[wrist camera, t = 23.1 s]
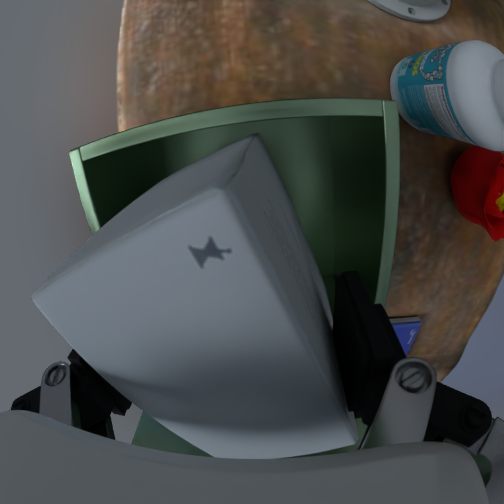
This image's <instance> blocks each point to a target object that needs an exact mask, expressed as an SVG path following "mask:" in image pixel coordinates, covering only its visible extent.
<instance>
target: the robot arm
mask: <svg viewBox="0 0 504 504" xmlns="http://www.w3.org/2000/svg"><path fill="white" fill-rule="evenodd" d="M368 1H369V2H371V3H372V4H374V5H375V6H377V7H379V8H380V9H382V10H384V11H386V12H388V13H390V14H392V15H395V16H397V17H400V18H403V19H406V20H410V21H415V22H431V21H434V20H437V19H439V18H441V17H443V16H444V15H445V14H446V13H447V12H448V10H449V8H450V1H451V0H368ZM332 333H333V337H334V342H335V347H336V352H337V357H338V362H339V367H340V372H341V377H342V383H343V388H344V393H345V398H346V403H347V408H348V411H349V412H352V411H353V412H354V418H355V419H357V418H361V419H362V423H363V424H365V425H367V428H366V430H365V432H364V434H363V437H362V439H361V441H360V443H359V445H358V447H357V449H356V451H351V452H344V453H337V454H330V455H321V456H311V457H299V458H283V459H232V458H216V457H204V456H195V455H187V454H179V453H173V452H167V451H161V450H156V449H150V448H146V447H141V446H137V445H132V444H128V443H124V442H120V441H116V440H115V436H114V431H113V426H112V421H111V417H110V414H111V412H113V413H114V414H118V415H123V416H125V413H126V410H127V409H129V408H130V406H131V404H132V402H131V401H130V400H128V399H127V398H126V397H125V396H123V395H122V394H121V393H120V392H119V391H117V390H116V389H115V388H114V387H113V386H112V385H111V384H109V383H108V382H107V381H106V380H105V379H104V378H103V377H102V376H101V375H100V374H99V373H97V372H96V371H95V370H94V369H93V368H92V367H91V366H90V365H89V364H88V363H87V362H86V361H85V360H84V359H83V358H82V357H81V356H80V355H79V354H78V353H77V352H76V351H75V350H74V349H73V350H72V351H71V353H70V354H69V356H68V359H69V361H70V362H71V364H70V366H69V365H68V364H67V363H65V362H62V361H60V362H55V363H53V364H52V365H50V366H49V367H48V368H47V369H46V370H45V372H44V374H43V376H42V382H41V386H39V387H37V388H35V389H34V390H32V391H30V392H28V393H26V394H24V395H22V396H20V397H19V398H17V399H16V400H15V401H14V402H13V404H12V407H11V411H10V410H9V411H5V412H2V413H0V504H504V420H502V419H501V418H499V417H497V418H496V419H494V418H492V415H491V411H490V409H489V407H488V406H487V405H486V404H485V403H484V402H483V401H481V400H479V399H476V398H474V397H472V396H469V395H467V394H465V393H462V392H460V391H458V390H455V389H453V388H451V387H448V386H446V385H444V384H442V383H439V382H437V375H436V372H435V369H434V368H433V367H432V365H431V364H430V363H428V362H427V361H426V360H423V359H421V358H416V357H410V358H407V357H406V355H405V353H404V350H403V348H402V346H401V343H400V341H399V339H398V337H397V335H396V332H395V330H394V328H393V326H392V324H391V322H390V320H389V317H388V315H387V313H386V311H385V309H384V307H383V306H382V304H380V303H378V304H373V302H372V300H371V298H370V296H369V294H368V292H367V290H366V288H365V286H364V283H363V281H362V279H361V277H360V275H359V273H358V272H357V271H356V270H355V271H345V272H341V276H337V277H336V283H335V301H334V316H333V329H332Z"/></svg>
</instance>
